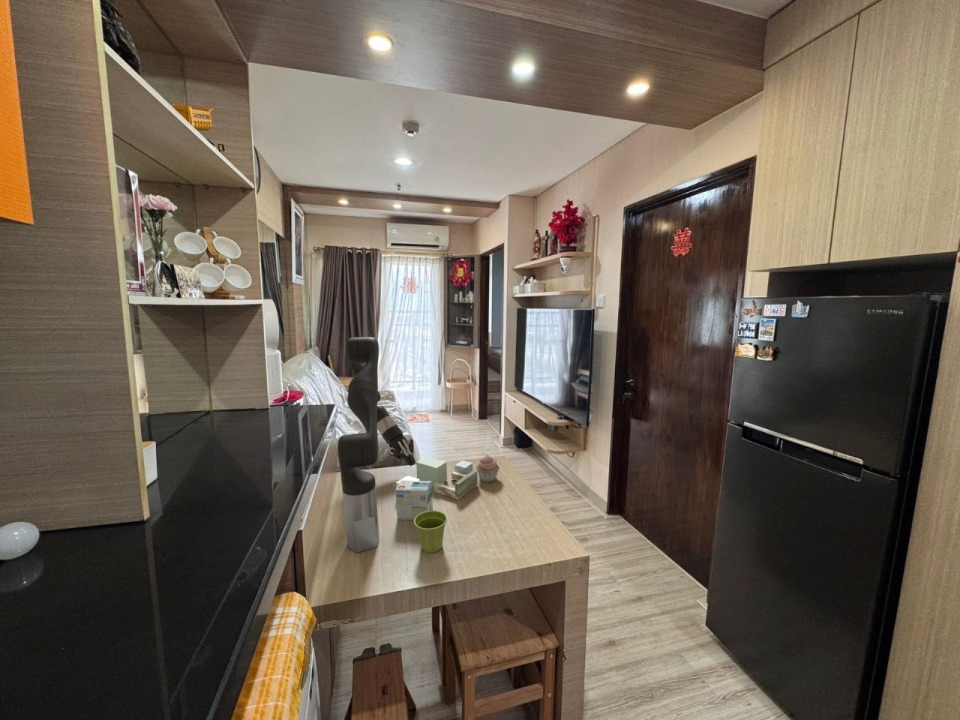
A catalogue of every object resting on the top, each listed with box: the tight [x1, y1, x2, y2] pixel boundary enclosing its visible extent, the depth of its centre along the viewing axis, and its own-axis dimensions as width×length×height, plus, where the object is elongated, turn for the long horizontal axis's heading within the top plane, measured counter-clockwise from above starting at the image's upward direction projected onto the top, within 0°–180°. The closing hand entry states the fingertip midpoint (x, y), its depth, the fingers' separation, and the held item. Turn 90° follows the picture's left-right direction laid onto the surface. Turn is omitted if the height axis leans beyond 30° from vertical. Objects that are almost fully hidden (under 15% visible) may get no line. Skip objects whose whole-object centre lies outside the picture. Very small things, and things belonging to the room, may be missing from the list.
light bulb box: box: [394, 479, 434, 521], centre depth 130 cm, size 11×7×11 cm, turn 84°
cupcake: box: [475, 454, 501, 483], centre depth 154 cm, size 9×9×10 cm
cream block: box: [395, 475, 420, 489], centre depth 143 cm, size 6×6×6 cm
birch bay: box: [433, 469, 478, 501], centre depth 147 cm, size 11×12×6 cm
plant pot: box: [413, 510, 448, 554], centre depth 114 cm, size 9×9×9 cm
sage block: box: [415, 456, 448, 487], centre depth 153 cm, size 10×6×8 cm, turn 57°
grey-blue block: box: [454, 460, 474, 475], centre depth 157 cm, size 5×5×5 cm
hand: (413, 464), depth 158 cm, fingers closed
